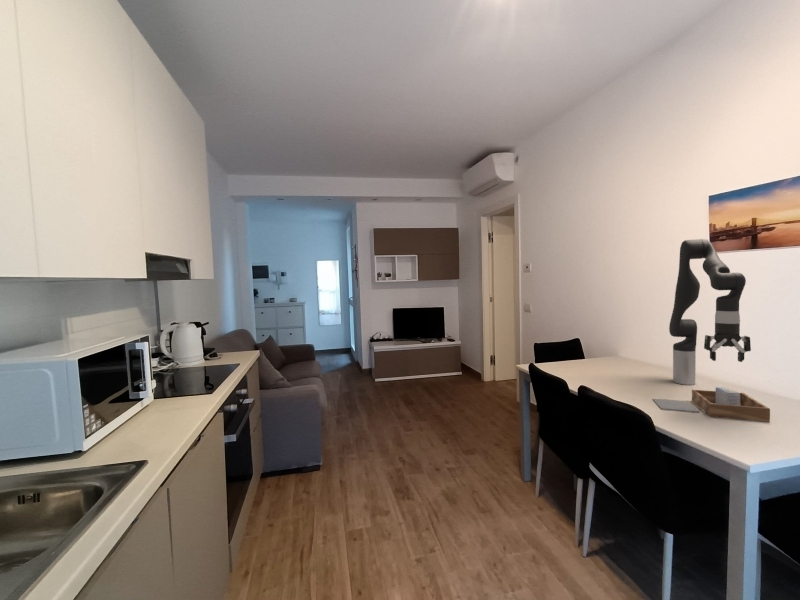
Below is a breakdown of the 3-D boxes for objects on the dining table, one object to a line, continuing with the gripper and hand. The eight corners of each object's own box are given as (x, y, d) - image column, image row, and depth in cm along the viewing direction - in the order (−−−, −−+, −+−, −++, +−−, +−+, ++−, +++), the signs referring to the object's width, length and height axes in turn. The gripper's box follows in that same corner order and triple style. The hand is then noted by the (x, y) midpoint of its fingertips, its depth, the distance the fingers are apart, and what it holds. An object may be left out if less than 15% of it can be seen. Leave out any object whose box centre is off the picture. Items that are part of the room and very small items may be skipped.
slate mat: (652, 399, 164) (652, 398, 164) (687, 402, 159) (687, 401, 159) (661, 409, 152) (661, 408, 152) (699, 412, 147) (699, 411, 147)
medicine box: (740, 414, 145) (740, 392, 144) (727, 413, 146) (728, 392, 145) (727, 407, 152) (727, 387, 152) (715, 406, 153) (715, 386, 153)
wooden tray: (691, 400, 162) (691, 389, 161) (743, 404, 155) (743, 392, 154) (710, 416, 143) (710, 404, 143) (769, 421, 136) (770, 408, 136)
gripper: (745, 320, 148) (744, 359, 149) (701, 320, 153) (701, 358, 154) (754, 323, 141) (753, 364, 142) (709, 322, 146) (708, 362, 147)
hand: (726, 360), depth 148 cm, fingers open, 8 cm apart
